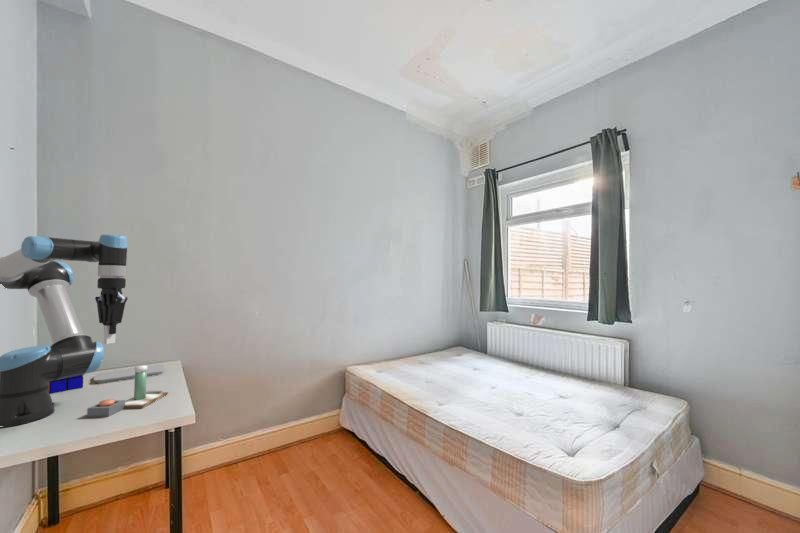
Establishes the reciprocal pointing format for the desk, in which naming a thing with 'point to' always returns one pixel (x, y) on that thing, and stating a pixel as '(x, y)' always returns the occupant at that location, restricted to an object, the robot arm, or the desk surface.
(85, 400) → the desk surface
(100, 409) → the button box
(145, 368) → the green bottle
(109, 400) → the button
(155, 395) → the open book
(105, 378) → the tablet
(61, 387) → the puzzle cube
